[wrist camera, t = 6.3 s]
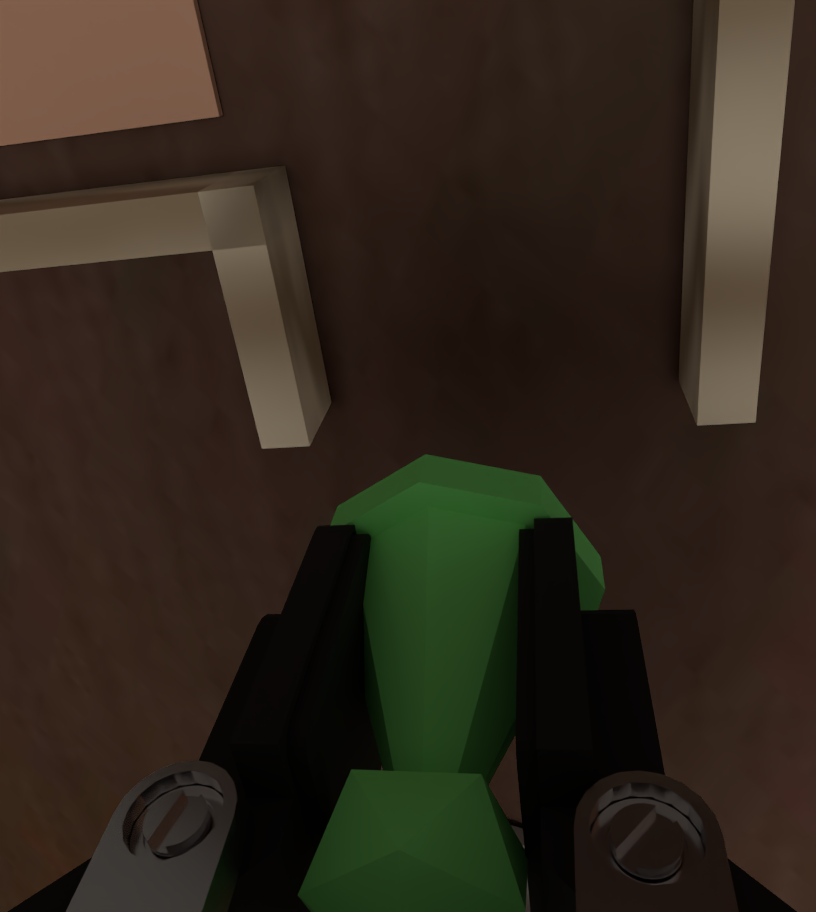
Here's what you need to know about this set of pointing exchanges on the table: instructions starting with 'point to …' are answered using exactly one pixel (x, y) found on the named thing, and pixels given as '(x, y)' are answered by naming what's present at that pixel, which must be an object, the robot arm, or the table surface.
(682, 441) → the table surface
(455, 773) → the game piece
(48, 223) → the bent track
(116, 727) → the table surface
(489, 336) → the table surface
